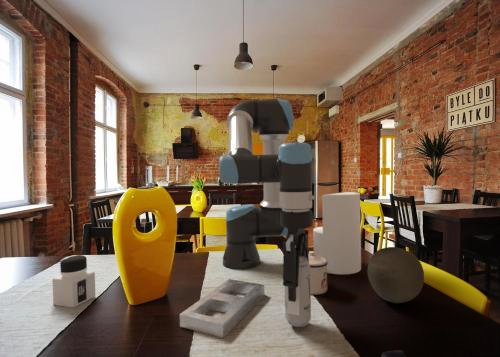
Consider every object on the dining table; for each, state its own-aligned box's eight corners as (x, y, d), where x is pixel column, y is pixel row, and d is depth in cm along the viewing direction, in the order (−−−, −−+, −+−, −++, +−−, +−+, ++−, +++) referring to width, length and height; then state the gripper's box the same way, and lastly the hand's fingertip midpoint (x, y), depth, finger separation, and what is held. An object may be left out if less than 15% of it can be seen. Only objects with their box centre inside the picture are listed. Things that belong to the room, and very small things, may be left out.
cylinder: (369, 266, 107) (368, 192, 106) (344, 278, 95) (343, 196, 95) (330, 256, 120) (329, 191, 119) (304, 266, 109) (303, 193, 108)
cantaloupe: (360, 291, 84) (359, 242, 84) (408, 291, 84) (408, 241, 83) (379, 315, 70) (378, 256, 70) (437, 316, 69) (436, 255, 69)
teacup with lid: (328, 296, 82) (327, 256, 81) (297, 294, 84) (296, 255, 84) (327, 281, 93) (326, 246, 93) (299, 279, 95) (298, 245, 95)
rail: (229, 288, 89) (229, 279, 89) (264, 294, 84) (264, 284, 84) (179, 326, 67) (179, 314, 67) (223, 338, 62) (222, 324, 62)
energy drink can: (311, 328, 63) (310, 262, 62) (284, 327, 64) (283, 261, 63) (310, 315, 69) (309, 254, 68) (285, 313, 70) (284, 253, 69)
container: (96, 296, 85) (94, 254, 85) (72, 308, 78) (71, 262, 78) (77, 293, 88) (75, 252, 87) (52, 305, 80) (51, 259, 80)
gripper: (301, 216, 55) (303, 331, 56) (320, 204, 73) (321, 293, 73) (265, 214, 59) (268, 323, 59) (292, 204, 76) (293, 288, 77)
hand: (297, 306), depth 66 cm, fingers closed on energy drink can, 6 cm apart
